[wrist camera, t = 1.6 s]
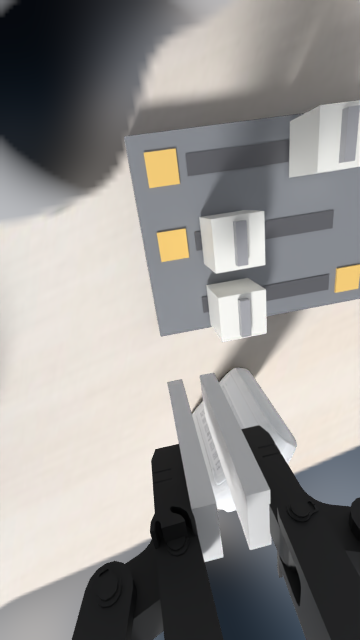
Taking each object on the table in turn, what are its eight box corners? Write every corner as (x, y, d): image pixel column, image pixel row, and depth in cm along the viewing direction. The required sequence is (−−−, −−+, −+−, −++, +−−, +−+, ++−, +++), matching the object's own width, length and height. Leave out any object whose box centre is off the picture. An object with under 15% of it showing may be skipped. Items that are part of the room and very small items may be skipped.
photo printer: (208, 433, 38) (240, 531, 26) (182, 420, 36) (205, 518, 25) (259, 376, 35) (317, 456, 24) (234, 360, 34) (284, 437, 23)
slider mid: (204, 263, 26) (218, 275, 21) (199, 217, 24) (213, 219, 20) (246, 256, 26) (268, 266, 22) (244, 210, 24) (267, 210, 20)
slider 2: (289, 177, 24) (322, 171, 20) (289, 121, 22) (326, 101, 18) (333, 171, 24) (375, 163, 20) (337, 115, 23) (383, 94, 18)
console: (158, 324, 31) (161, 337, 28) (125, 144, 24) (123, 135, 21) (347, 289, 33) (368, 297, 30) (364, 112, 26) (393, 101, 23)
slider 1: (210, 324, 28) (224, 345, 24) (206, 285, 26) (220, 300, 22) (249, 316, 28) (269, 336, 24) (247, 277, 27) (269, 291, 22)
